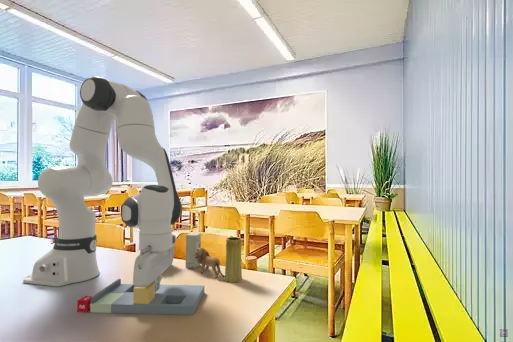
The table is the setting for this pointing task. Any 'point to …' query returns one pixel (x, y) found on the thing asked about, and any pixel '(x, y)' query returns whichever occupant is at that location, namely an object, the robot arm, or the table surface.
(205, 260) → the lion figurine
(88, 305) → the red letter cube
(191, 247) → the box
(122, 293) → the board
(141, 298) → the block
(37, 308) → the table surface
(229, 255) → the vase
